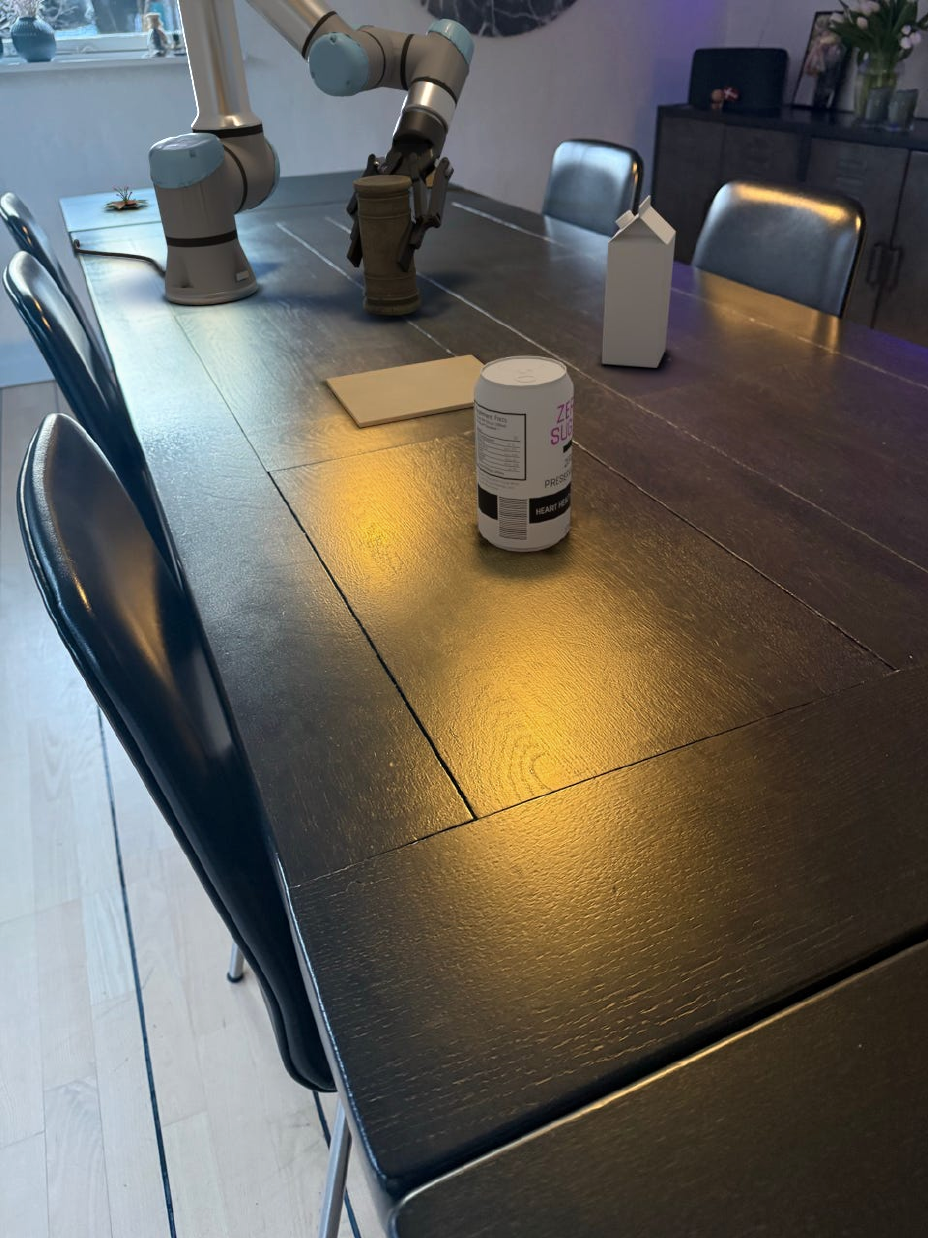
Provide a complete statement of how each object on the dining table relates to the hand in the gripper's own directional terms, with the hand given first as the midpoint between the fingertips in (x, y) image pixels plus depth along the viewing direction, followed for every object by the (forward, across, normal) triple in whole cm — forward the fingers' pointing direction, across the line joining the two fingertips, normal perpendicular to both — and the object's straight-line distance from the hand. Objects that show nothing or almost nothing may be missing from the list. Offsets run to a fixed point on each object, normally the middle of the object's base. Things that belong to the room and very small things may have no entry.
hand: (376, 264), depth 131 cm
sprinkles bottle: (-67, +48, -79) cm, 115 cm away
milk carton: (+8, -41, -3) cm, 42 cm away
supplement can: (+42, -46, +31) cm, 70 cm away
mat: (+22, -20, +11) cm, 32 cm away
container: (+3, 0, -8) cm, 8 cm away
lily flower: (-36, +111, -49) cm, 127 cm away
